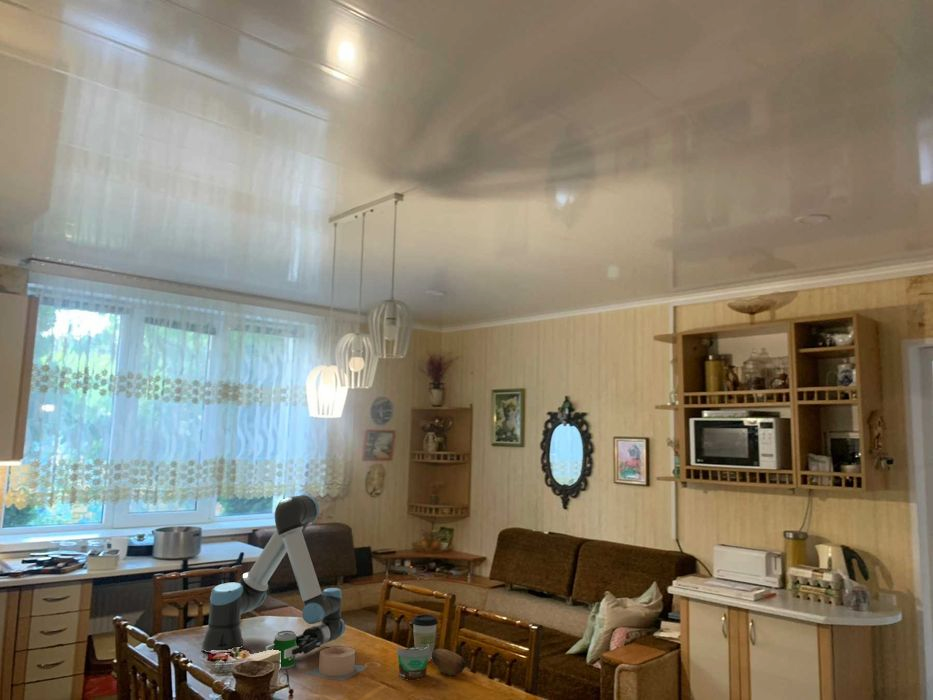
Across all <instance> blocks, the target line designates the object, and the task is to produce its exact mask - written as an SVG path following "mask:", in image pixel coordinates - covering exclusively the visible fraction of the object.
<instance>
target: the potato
mask: <svg viewBox="0 0 933 700" xmlns="http://www.w3.org/2000/svg"><path fill="white" fill-rule="evenodd" d="M431 661H432V662H433V664H434V666H435V667H436V668H437V669H438V670H439V671H441V672H442V674H445V675H449V674H451V675H450V676H453V675H454V674H455V675H458V674H460V673H462V672H463V671H464V670H465V668H466V660H465V659H464V658H463V657H462V656H460V655H459V654H457V653H455V652H453V651H451V650H448V649H444V648H441V647H439V648H434V650H433V652H432V660H431Z"/></svg>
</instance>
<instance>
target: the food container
mask: <svg viewBox="0 0 933 700" xmlns="http://www.w3.org/2000/svg"><path fill="white" fill-rule="evenodd" d="M395 653H396V655H397V656H398V674H399V675H398V678H400V677H401V678H404V679H408V680H407V681H409V680H416V681H418V680H417V679H421V680H423V679H425V678H426V677H427V667H428V661H427V660H428V654H429V653H430V647H429V644H427V646H425V647H415V646H412V647H408V648H405V649H403V648H401V647H399V646H398V647H397V649H396V652H395ZM424 677H425V678H424ZM401 678H400V679H401ZM422 678H423V679H422ZM404 679H403V680H404Z"/></svg>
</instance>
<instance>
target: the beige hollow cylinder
mask: <svg viewBox="0 0 933 700" xmlns="http://www.w3.org/2000/svg"><path fill="white" fill-rule="evenodd" d="M355 656H356V650H355V649H353V648H352V647H348V646H347V647H346V646H331V647H327V648H324V649H321V650H320V652H319V658H318V659H319V663H318V666H319V672H320V673H321V674H323V675H328V676H342V675H347V674H350V673H352V672H353V671H354V664H356V663H355V660H356V659H355V658H356V657H355Z"/></svg>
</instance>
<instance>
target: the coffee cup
mask: <svg viewBox="0 0 933 700" xmlns="http://www.w3.org/2000/svg"><path fill="white" fill-rule="evenodd" d="M411 623H412V624H413V631H412V632H413V640H414V641H413V643H414V647H425V646H427V644H429V647H430V653H429V654H428V660H427V662H430V661H429V660H430V659H432V658H431V657H432V652H433V651H434V650H435V643H436V638H437V637H436V635H437V627H438V626H437V625H438V624H439V621H438V620H437V616H436V615H433V614H417V615H414V617H413V620H412V622H411Z"/></svg>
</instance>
